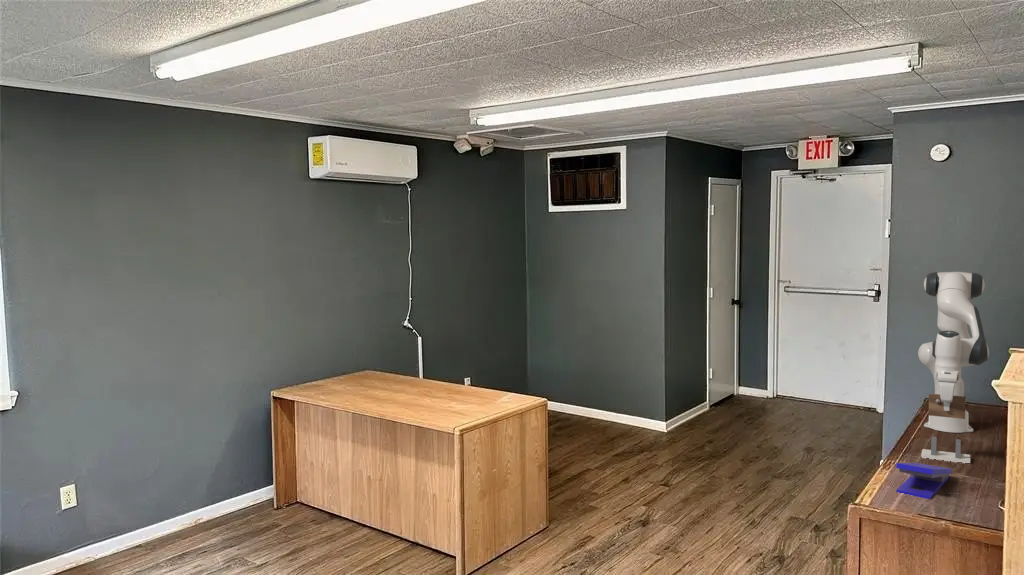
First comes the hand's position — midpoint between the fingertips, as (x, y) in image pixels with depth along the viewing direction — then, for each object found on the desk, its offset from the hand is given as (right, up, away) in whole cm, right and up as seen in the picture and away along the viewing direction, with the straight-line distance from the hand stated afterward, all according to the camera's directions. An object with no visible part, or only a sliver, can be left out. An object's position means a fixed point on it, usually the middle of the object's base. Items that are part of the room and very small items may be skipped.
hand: (946, 409), depth 279 cm
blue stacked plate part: (-25, -22, -29) cm, 44 cm away
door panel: (0, -3, 0) cm, 3 cm away
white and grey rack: (0, -19, +1) cm, 19 cm away
